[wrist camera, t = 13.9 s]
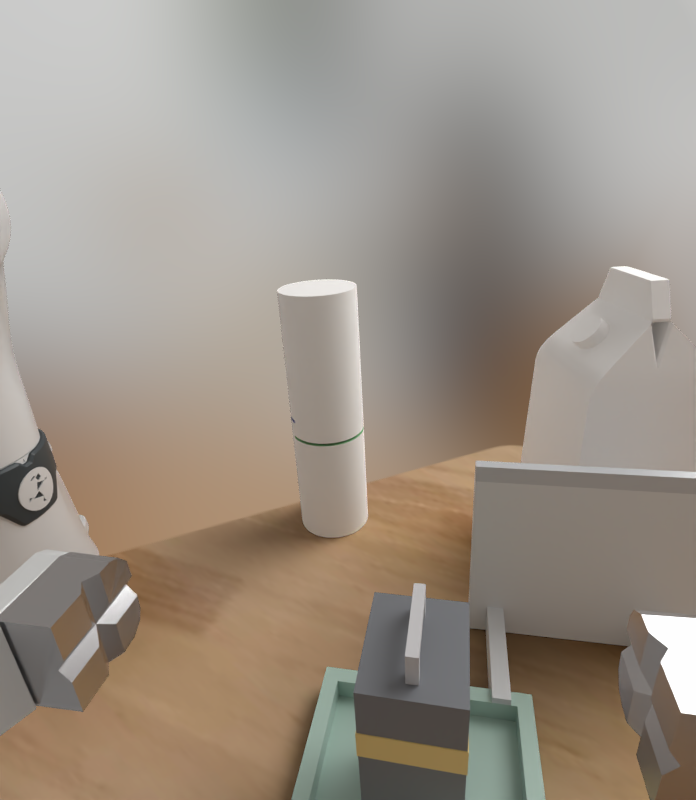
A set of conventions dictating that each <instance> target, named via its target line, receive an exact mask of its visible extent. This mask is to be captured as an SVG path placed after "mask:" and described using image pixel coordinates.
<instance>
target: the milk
mask: <svg viewBox="0 0 696 800" xmlns="http://www.w3.org/2000/svg"><path fill="white" fill-rule="evenodd" d="M521 463H530V464H549V465H569V466H588V467H608V468H627V469H647V470H666V471H685V472H696V347H695V345H694V344H693V343H692V342H691V341H690V340H689V339H688V338H687V337H686V336H685V335H684V334H683V333H682V332H681V331H680V330H679V329H678V328H677V327H676V326H675V325H674V324H673V322H671V301H670V281H669V279H666V278H663V277H659V276H656V275H653V274H650V273H647V272H644V271H640V270H637V269H634V268H631V267H627V266H622V267H610V270H609V272H608V275H607V277H606V280H605V282H604V284H603V287H602V290H601V292H600V294H599V298H598V299H596V300H594V301H593V302H592V303H591V304H590V305H588V306H587V307H586V308H585V309H583V310H582V311H581V312H580V313H578V314H577V315H576V316H575V317H573V318H572V319H571V320H570V321H569V322H567V323H566V324H565V325H564V326H562V327H561V328H560V329H558V330H557V331H556V332H555V333H554V334H552V335H551V336H550V337H549V338H548V339H547V340H546V341H545V342H544V343H543V345H542V346H541V347H540V349H539V351H538V353H537V357H536V361H535V367H534V375H533V381H532V388H531V395H530V402H529V410H528V416H527V423H526V430H525V437H524V444H523V451H522V458H521Z"/></svg>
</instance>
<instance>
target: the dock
mask: <svg viewBox="0 0 696 800" xmlns="http://www.w3.org/2000/svg"><path fill="white" fill-rule="evenodd" d="M468 603H469V626H470V628H472V629H481V630H486V646H487V666H488V686H489V689H491V694H492V703H497V704H504V705H511V701H512V700H511V689H510V678H509V667H508V656H507V645H506V634H505V632H507V633H516V634H525V635H533V636H542V637H551V638H560V639H568V640H577V641H586V642H594V643H603V644H612V645H621V646H630V645H632V644H631V641H630V638H629V636H628V633H627V630H626V628H627V624H628V620H629V616H630V614H631V613H632V611H633V610H634V609H635V610H646V611H657V612H668V613H679V614H690V615H696V472H685V471H666V470H647V469H627V468H608V467H588V466H569V465H549V464H530V463H510V462H491V461H476V466H475V481H474V501H473V521H472V541H471V561H470V581H469V601H468Z"/></svg>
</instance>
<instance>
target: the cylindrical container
mask: <svg viewBox="0 0 696 800" xmlns="http://www.w3.org/2000/svg"><path fill="white" fill-rule="evenodd" d="M277 295H278V304H279V313H280V322H281V331H282V340H283V349H284V358H285V367H286V376H287V385H288V394H289V402H290V412H291V421H292V430H293V439H294V448H295V457H296V466H297V475H298V484H299V493H300V502H301V511H302V520H303V524H304V526H305V528H306V529H307V530H308V531H310V532H311V533H313V534H315V535H318V536H321V537H328V538H336V537H343V536H347V535H350V534H353V533H355V532H357V531H358V530H359V529H361V528H362V527H363V526H364V525H365V523H366V521H367V518H368V507H367V487H366V467H365V446H364V427H363V405H362V385H361V364H360V344H359V325H358V304H357V285H356V284H355V283H354V282H351V281H346V280H331V279H326V280H310V281H302V282H296V283H291V284H288V285H284V286H282V287H280V288H279V289H278V290H277Z"/></svg>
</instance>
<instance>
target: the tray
mask: <svg viewBox="0 0 696 800" xmlns="http://www.w3.org/2000/svg"><path fill="white" fill-rule="evenodd" d="M357 673H358V671H355V670H348V669H341V668H333V667H327V668H326V672H325V676H324V680H323V683H322V687H321V691H320V694H319V698H318V702H317V706H316V709H315V713H314V717H313V721H312V724H311V728H310V732H309V735H308V739H307V743H306V747H305V750H304V754H303V758H302V762H301V765H300V769H299V773H298V776H297V780H296V784H295V788H294V791H293V795H292V799H291V800H361V788H360V775H359V761H358V756H357V752H356V739H355V732H356V721H355V708H354V695H353V692H354V687H355V683H356V678H357ZM511 700H512V701H511V705H504V704H497V703H492V694H491V689H487V688H480V687H473V686H470V721H469V760H468V776H467V775H466V790H465V800H545V792H544V785H543V777H542V769H541V762H540V754H539V746H538V739H537V731H536V723H535V716H534V708H533V700H532V695H531V694H524V693H516V692H511Z"/></svg>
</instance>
